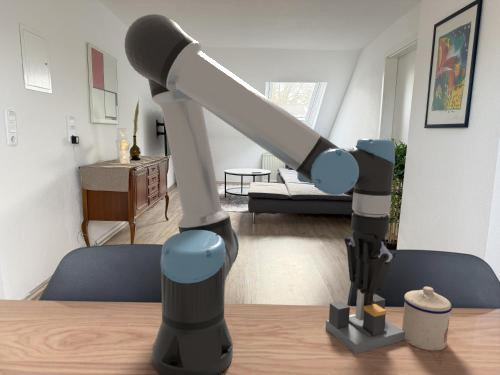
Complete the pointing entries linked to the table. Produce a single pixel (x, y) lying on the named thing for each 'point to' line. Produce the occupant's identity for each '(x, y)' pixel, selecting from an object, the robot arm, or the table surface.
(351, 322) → the panel
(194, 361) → the robot arm
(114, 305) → the table surface
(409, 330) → the teacup with lid
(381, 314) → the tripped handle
